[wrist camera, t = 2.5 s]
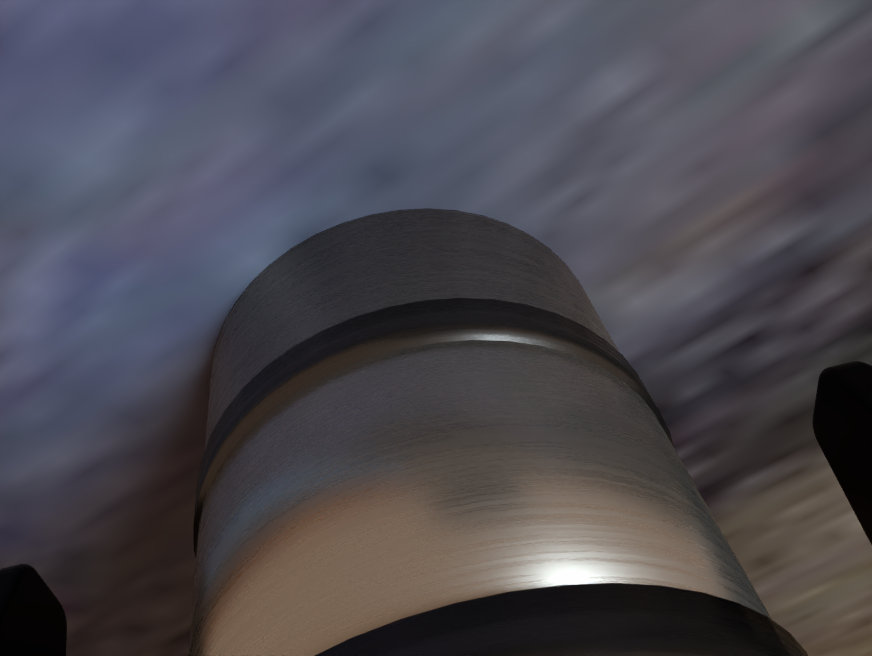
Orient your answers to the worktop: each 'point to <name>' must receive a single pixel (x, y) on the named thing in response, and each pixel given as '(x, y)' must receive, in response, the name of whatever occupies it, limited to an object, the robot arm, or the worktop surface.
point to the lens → (447, 465)
